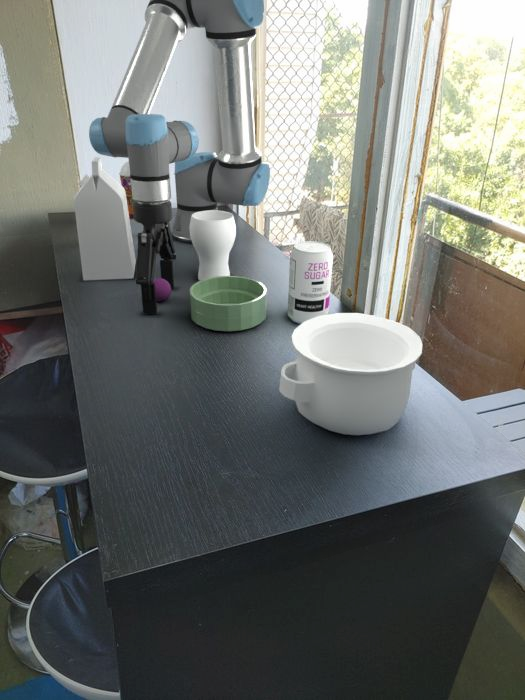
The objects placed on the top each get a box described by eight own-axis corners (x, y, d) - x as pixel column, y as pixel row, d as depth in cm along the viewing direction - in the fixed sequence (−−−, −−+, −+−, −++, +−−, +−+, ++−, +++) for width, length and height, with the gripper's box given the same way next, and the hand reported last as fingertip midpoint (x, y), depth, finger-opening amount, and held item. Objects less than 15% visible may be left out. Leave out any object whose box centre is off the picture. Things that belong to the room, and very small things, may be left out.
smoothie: (119, 218, 171) (112, 153, 161) (129, 211, 178) (123, 149, 168) (144, 219, 170) (138, 154, 160) (153, 213, 177) (148, 150, 167)
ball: (152, 295, 115) (150, 274, 113) (174, 296, 115) (173, 275, 113) (145, 304, 111) (143, 282, 109) (168, 305, 111) (166, 283, 108)
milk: (133, 278, 124) (121, 163, 112) (83, 280, 122) (64, 164, 110) (135, 261, 134) (124, 155, 122) (89, 263, 133) (73, 155, 120)
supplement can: (305, 306, 112) (309, 237, 105) (335, 318, 107) (342, 247, 100) (279, 316, 107) (281, 245, 100) (309, 330, 102) (314, 256, 95)
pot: (311, 467, 67) (318, 387, 62) (257, 397, 81) (258, 327, 75) (444, 426, 76) (461, 352, 70) (374, 369, 89) (383, 303, 83)
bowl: (199, 299, 114) (198, 273, 111) (269, 304, 112) (270, 277, 110) (183, 331, 101) (181, 302, 98) (261, 336, 99) (262, 307, 96)
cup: (229, 288, 120) (229, 223, 113) (185, 283, 122) (182, 219, 114) (240, 272, 129) (240, 211, 122) (199, 268, 131) (197, 208, 124)
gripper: (151, 187, 114) (158, 278, 124) (110, 215, 92) (123, 323, 102) (185, 188, 113) (189, 280, 123) (151, 217, 91) (160, 326, 102)
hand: (159, 300), depth 113 cm, fingers open, 13 cm apart
